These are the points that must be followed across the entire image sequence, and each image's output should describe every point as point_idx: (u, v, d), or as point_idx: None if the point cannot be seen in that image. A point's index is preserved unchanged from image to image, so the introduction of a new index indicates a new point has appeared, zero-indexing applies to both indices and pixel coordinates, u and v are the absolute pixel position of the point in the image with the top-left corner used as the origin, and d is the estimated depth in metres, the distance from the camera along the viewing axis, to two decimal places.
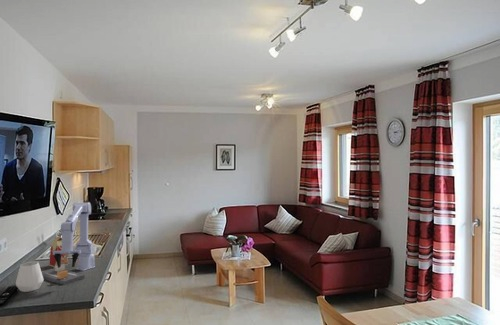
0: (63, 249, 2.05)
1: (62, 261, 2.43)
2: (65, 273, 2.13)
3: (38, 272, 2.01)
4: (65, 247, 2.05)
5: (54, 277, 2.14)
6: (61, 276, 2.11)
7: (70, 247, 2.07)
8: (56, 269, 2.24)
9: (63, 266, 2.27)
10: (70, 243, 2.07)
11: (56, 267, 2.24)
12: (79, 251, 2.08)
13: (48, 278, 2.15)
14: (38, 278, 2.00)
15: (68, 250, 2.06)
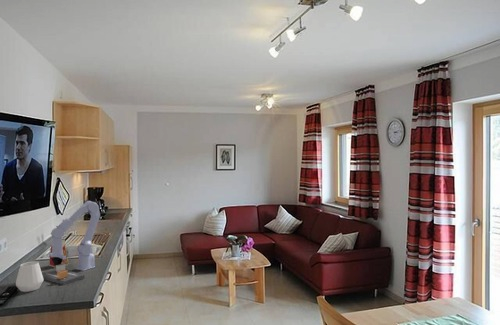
0: (52, 253, 2.25)
1: (62, 261, 2.43)
2: (65, 273, 2.13)
3: (38, 272, 2.01)
4: (53, 251, 2.24)
5: (54, 277, 2.14)
6: (61, 276, 2.11)
7: (57, 252, 2.24)
8: (57, 269, 2.24)
9: (64, 266, 2.26)
10: (56, 248, 2.24)
11: (57, 267, 2.24)
12: (62, 257, 2.23)
13: (48, 278, 2.15)
14: (38, 278, 2.00)
15: (55, 255, 2.24)
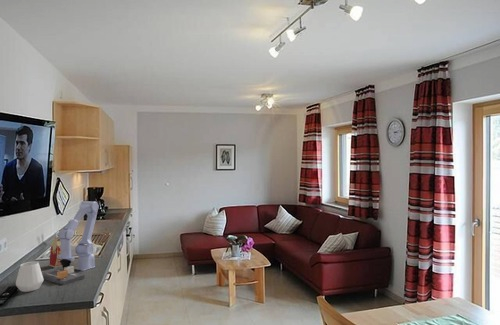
0: (60, 255, 2.21)
1: None
2: (65, 273, 2.13)
3: (38, 272, 2.01)
4: (61, 253, 2.20)
5: (54, 277, 2.14)
6: (61, 276, 2.11)
7: (65, 254, 2.20)
8: None
9: (72, 268, 2.22)
10: (65, 250, 2.20)
11: (65, 269, 2.19)
12: (71, 259, 2.18)
13: (48, 278, 2.15)
14: (38, 278, 2.00)
15: (63, 257, 2.20)
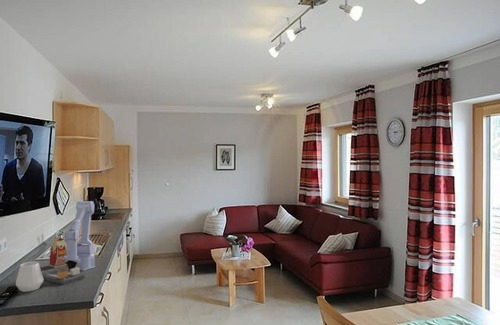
0: (66, 256, 2.18)
1: (62, 261, 2.43)
2: (65, 273, 2.13)
3: (38, 272, 2.01)
4: (67, 255, 2.17)
5: (54, 277, 2.14)
6: (61, 276, 2.11)
7: (71, 255, 2.17)
8: (71, 273, 2.16)
9: (78, 270, 2.19)
10: (71, 252, 2.17)
11: (71, 271, 2.16)
12: (77, 260, 2.15)
13: (48, 278, 2.15)
14: (38, 278, 2.00)
15: (69, 258, 2.17)
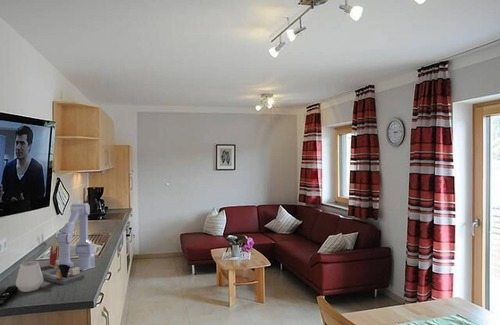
0: (59, 260, 2.10)
1: None
2: None
3: (38, 272, 2.01)
4: (60, 258, 2.09)
5: (54, 277, 2.14)
6: (60, 276, 2.11)
7: (64, 259, 2.09)
8: (71, 273, 2.16)
9: (78, 270, 2.19)
10: (64, 255, 2.09)
11: (71, 271, 2.16)
12: (70, 264, 2.07)
13: (48, 278, 2.15)
14: (38, 278, 2.00)
15: (62, 262, 2.09)
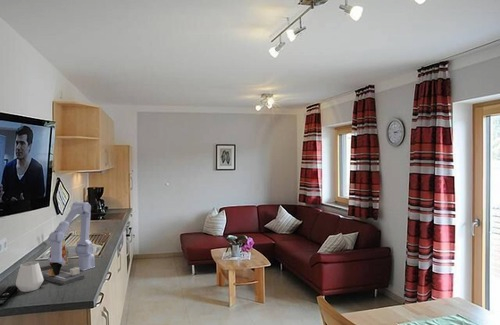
0: (51, 258, 2.14)
1: None
2: None
3: (38, 272, 2.01)
4: (51, 257, 2.13)
5: (54, 277, 2.14)
6: (52, 273, 2.15)
7: (56, 257, 2.13)
8: (71, 273, 2.16)
9: (78, 270, 2.19)
10: (56, 253, 2.13)
11: (71, 271, 2.16)
12: (62, 262, 2.11)
13: (48, 278, 2.15)
14: (38, 278, 2.00)
15: (54, 260, 2.13)
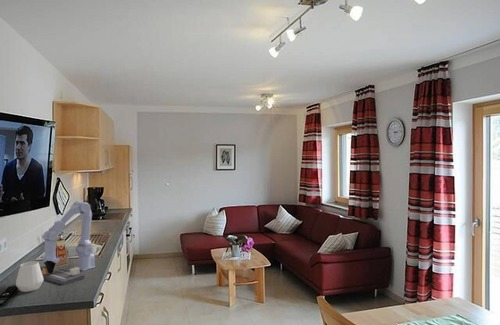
0: (45, 257, 2.17)
1: (62, 261, 2.43)
2: None
3: (38, 272, 2.01)
4: (45, 255, 2.16)
5: (54, 277, 2.14)
6: (46, 272, 2.19)
7: (50, 256, 2.16)
8: (71, 273, 2.16)
9: (78, 270, 2.19)
10: (49, 252, 2.16)
11: (71, 271, 2.16)
12: (55, 261, 2.14)
13: (48, 278, 2.15)
14: (38, 278, 2.00)
15: (47, 258, 2.16)
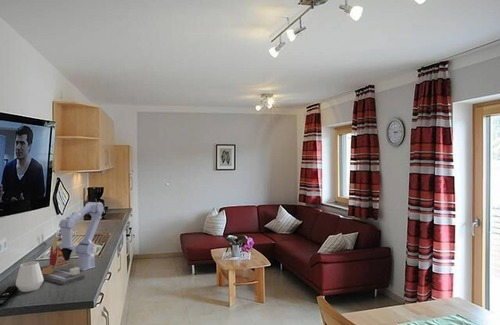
0: (61, 244, 2.22)
1: (62, 261, 2.43)
2: (50, 269, 2.20)
3: (38, 272, 2.01)
4: (62, 242, 2.21)
5: (54, 277, 2.14)
6: (46, 272, 2.19)
7: (66, 243, 2.21)
8: (71, 273, 2.16)
9: (78, 270, 2.19)
10: (66, 239, 2.21)
11: (71, 271, 2.16)
12: (72, 248, 2.19)
13: (48, 278, 2.15)
14: (38, 278, 2.00)
15: (64, 246, 2.21)
